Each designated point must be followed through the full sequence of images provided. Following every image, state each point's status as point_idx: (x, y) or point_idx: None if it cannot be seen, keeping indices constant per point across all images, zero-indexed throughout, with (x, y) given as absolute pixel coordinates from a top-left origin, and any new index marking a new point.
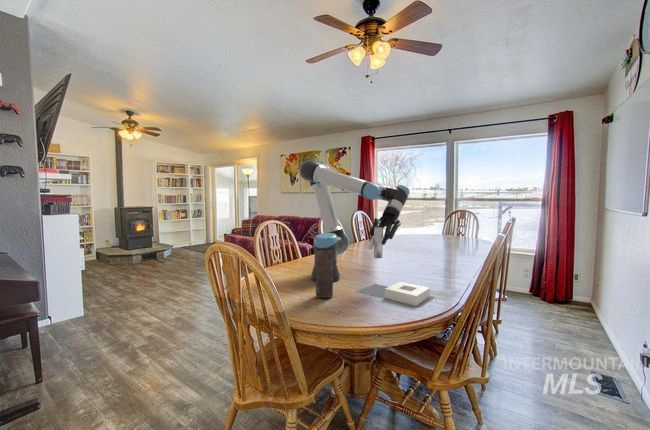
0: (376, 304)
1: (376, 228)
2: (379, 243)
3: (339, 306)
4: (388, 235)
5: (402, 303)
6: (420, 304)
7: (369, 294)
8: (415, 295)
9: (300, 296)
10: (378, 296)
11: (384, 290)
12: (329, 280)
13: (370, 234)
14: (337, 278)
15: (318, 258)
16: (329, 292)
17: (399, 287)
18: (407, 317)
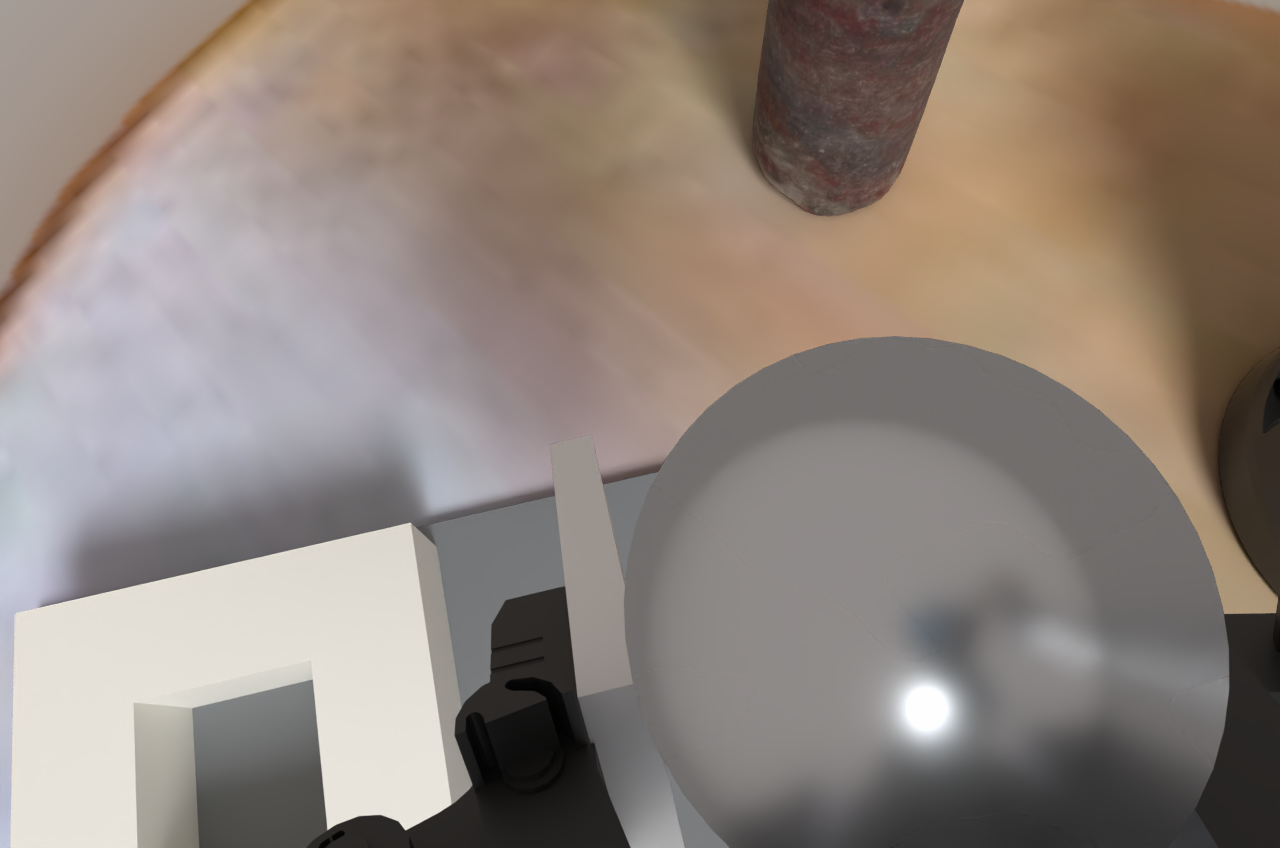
0: (400, 384)
1: (828, 355)
2: (579, 507)
3: (568, 129)
4: (384, 826)
5: None
6: None
7: (610, 495)
8: (31, 617)
9: None
10: (507, 525)
11: None
12: (767, 21)
13: (1271, 616)
14: (1265, 543)
15: None
16: (754, 112)
17: (320, 709)
18: (49, 380)
